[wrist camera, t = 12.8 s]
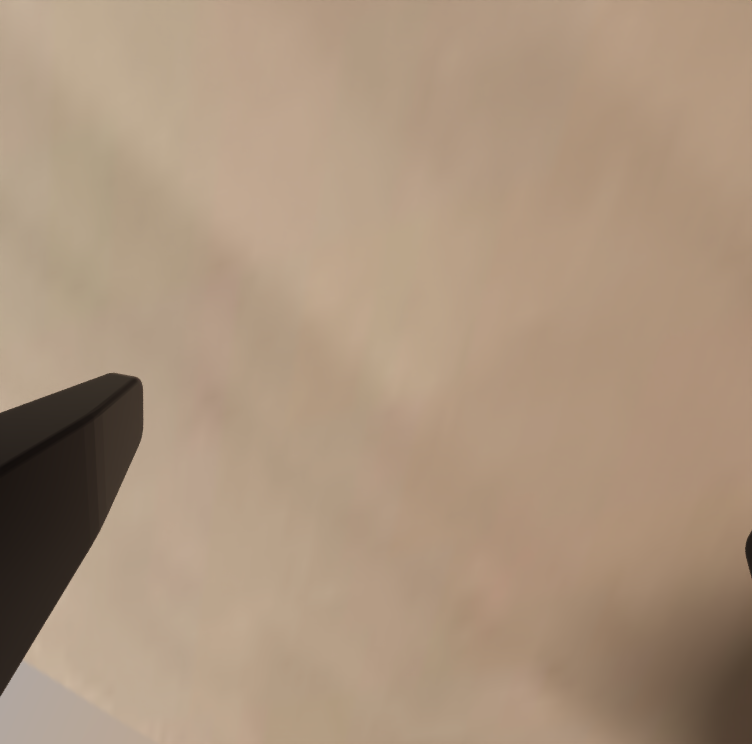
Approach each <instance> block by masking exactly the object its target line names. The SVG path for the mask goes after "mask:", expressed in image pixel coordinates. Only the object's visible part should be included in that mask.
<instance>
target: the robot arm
mask: <svg viewBox="0 0 752 744" xmlns="http://www.w3.org/2000/svg"><path fill="white" fill-rule="evenodd" d="M142 433H143V386H142V382H141V380H140V379H139V378H137V377H134V376H128V375H123V374H118V373H109V374H106V375H103V376H100V377H97V378H95V379H92V380H89V381H86V382H84V383H81V384H78V385H76V386H73V387H70V388H67V389H65V390H62V391H59V392H56V393H54V394H51V395H48V396H45V397H43V398H40V399H37V400H34V401H32V402H29V403H26V404H23V405H21V406H18V407H15V408H12V409H10V410H7V411H4V412H1V413H0V696H1V695H2V693H3V691H4V689H5V688H6V686H7V685H8V683H9V681H10V680H11V678H12V676H13V675H14V673H15V672H16V670H17V668H18V667H19V665H20V663H21V662H22V660H23V658H24V657H25V655H26V653H27V652H28V650H29V648H30V647H31V645H32V643H33V642H34V640H35V639H36V637H37V635H38V634H39V632H40V630H41V629H42V627H43V625H44V624H45V622H46V620H47V619H48V617H49V615H50V614H51V612H52V610H53V609H54V607H55V605H56V604H57V602H58V600H59V599H60V597H61V596H62V594H63V592H64V591H65V589H66V587H67V586H68V584H69V582H70V581H71V579H72V577H73V576H74V574H75V572H76V571H77V569H78V567H79V566H80V564H81V562H82V561H83V559H84V558H85V556H86V554H87V553H88V551H89V549H90V548H91V546H92V544H93V542H94V541H95V539H96V537H97V535H98V534H99V532H100V530H101V528H102V526H103V523H104V521H105V519H106V517H107V515H108V513H109V511H110V508H111V506H112V504H113V502H114V499H115V497H116V495H117V493H118V491H119V488H120V486H121V484H122V482H123V479H124V477H125V475H126V473H127V471H128V468H129V466H130V464H131V462H132V459H133V457H134V455H135V453H136V451H137V448H138V446H139V444H140V441H141V438H142ZM745 552H746V559H747V562H748V566H749V570H750V574H751V578H752V531H751V533H750V534H749V536H748V538H747V542H746V547H745Z"/></svg>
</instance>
